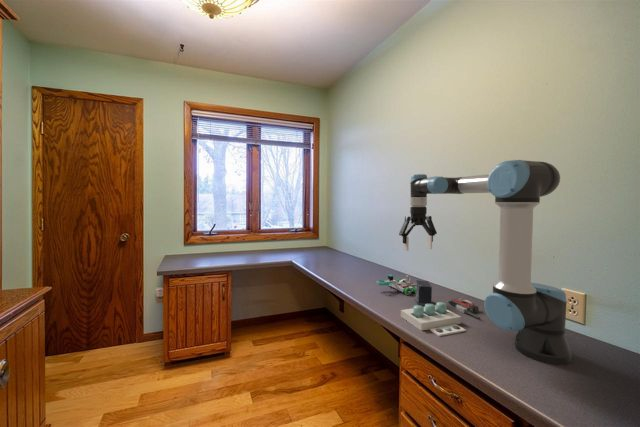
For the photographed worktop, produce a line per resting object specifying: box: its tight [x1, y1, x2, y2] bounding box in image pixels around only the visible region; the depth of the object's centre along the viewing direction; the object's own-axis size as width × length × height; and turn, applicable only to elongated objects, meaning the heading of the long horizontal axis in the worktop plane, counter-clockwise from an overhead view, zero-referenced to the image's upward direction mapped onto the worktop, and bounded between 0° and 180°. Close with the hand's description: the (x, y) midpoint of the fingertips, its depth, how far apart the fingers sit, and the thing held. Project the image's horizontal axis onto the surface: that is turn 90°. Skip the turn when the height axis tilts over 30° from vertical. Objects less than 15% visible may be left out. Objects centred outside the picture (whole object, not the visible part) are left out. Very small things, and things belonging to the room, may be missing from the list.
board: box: [400, 304, 462, 331], centre depth 121 cm, size 14×20×3 cm
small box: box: [415, 279, 433, 307], centre depth 140 cm, size 11×6×10 cm, turn 168°
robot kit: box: [374, 274, 416, 296], centre depth 160 cm, size 19×25×9 cm
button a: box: [435, 301, 448, 314], centre depth 122 cm, size 4×4×4 cm
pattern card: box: [429, 324, 467, 337], centre depth 111 cm, size 5×13×1 cm, turn 108°
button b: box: [425, 303, 436, 316], centre depth 120 cm, size 4×4×4 cm
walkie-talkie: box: [447, 297, 481, 320], centre depth 131 cm, size 9×4×20 cm
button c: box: [412, 305, 424, 318], centre depth 119 cm, size 4×4×4 cm
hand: (417, 249), depth 136 cm, fingers open, 13 cm apart
